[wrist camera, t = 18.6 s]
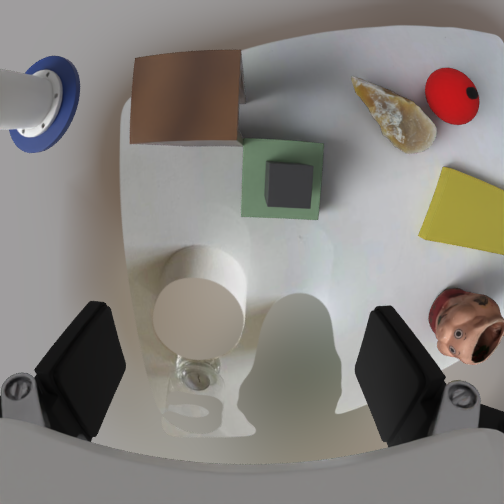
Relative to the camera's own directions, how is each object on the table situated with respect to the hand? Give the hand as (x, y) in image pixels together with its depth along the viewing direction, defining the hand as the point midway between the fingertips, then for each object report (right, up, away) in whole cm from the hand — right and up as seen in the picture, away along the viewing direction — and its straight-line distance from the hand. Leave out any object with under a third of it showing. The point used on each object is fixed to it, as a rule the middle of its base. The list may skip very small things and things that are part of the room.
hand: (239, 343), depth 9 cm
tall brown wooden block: (-4, +21, +26) cm, 33 cm away
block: (+4, +12, +25) cm, 28 cm away
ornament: (+30, +28, +24) cm, 47 cm away
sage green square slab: (+4, +13, +29) cm, 32 cm away
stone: (+20, +23, +25) cm, 39 cm away
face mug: (+40, -8, +36) cm, 55 cm away
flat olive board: (+40, +10, +30) cm, 51 cm away
